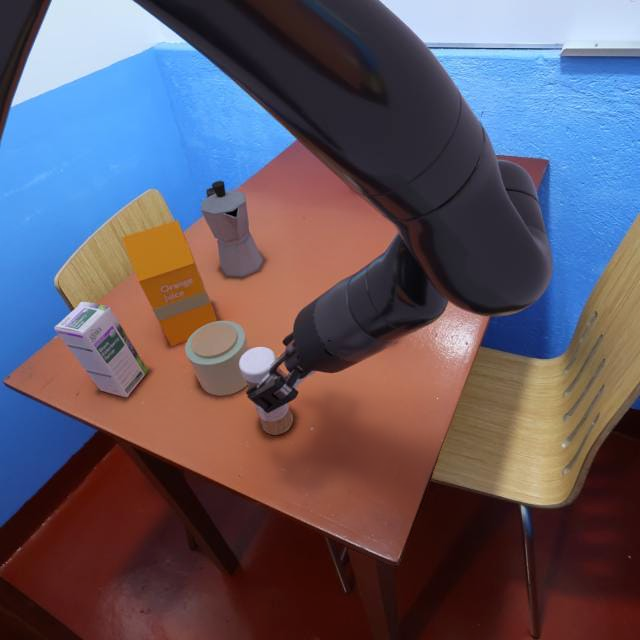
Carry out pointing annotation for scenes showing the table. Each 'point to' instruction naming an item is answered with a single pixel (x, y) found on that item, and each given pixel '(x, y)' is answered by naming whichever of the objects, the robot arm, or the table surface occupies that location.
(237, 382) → the pale green cylinder
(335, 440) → the table surface
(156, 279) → the orange juice
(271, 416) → the sprinkles bottle
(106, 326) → the syrup box
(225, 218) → the coffee maker
